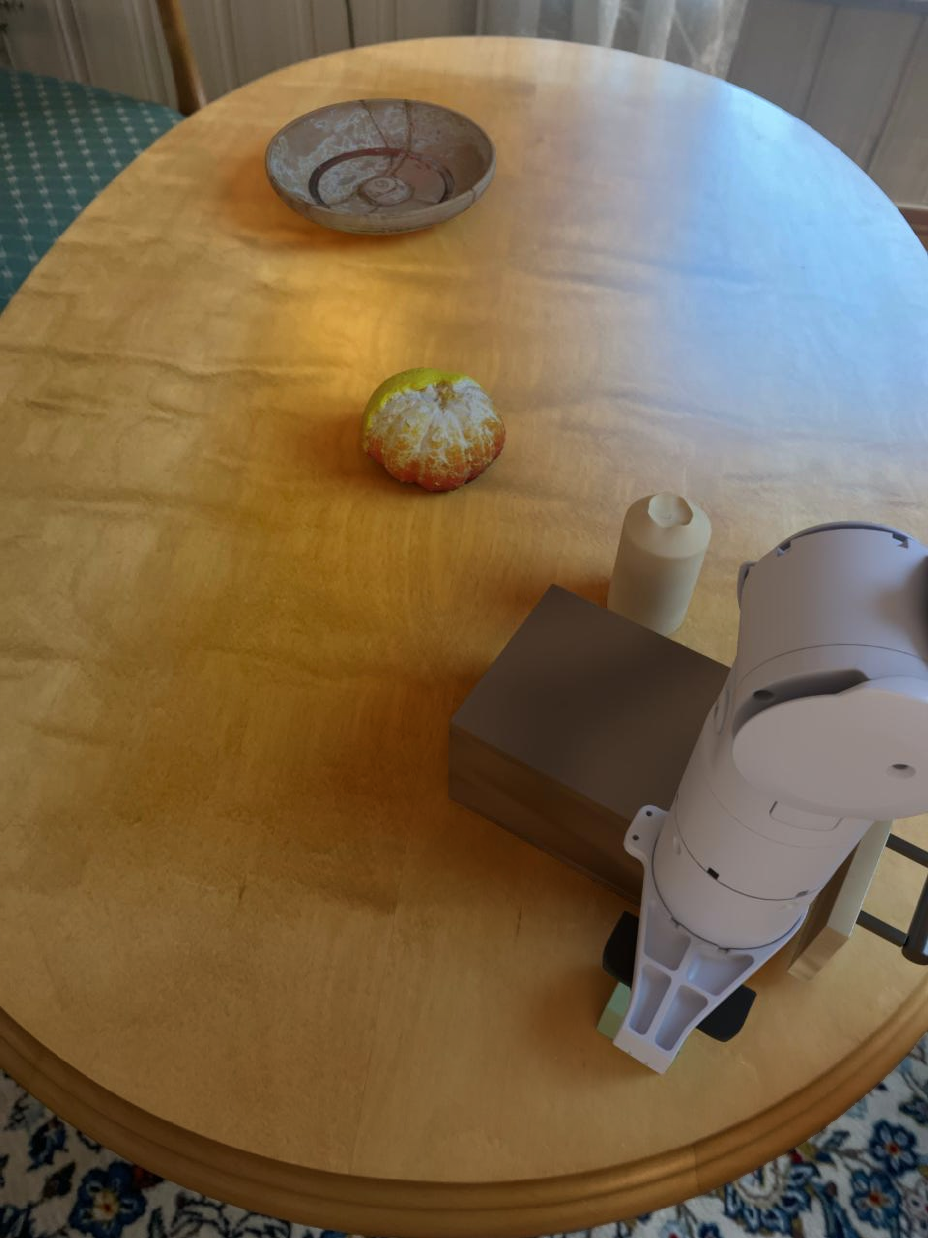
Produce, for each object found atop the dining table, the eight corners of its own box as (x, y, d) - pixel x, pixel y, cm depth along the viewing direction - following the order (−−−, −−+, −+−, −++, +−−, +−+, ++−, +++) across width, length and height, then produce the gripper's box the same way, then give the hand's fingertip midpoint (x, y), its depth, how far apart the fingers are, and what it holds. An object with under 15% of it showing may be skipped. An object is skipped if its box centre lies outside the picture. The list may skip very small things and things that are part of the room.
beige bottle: (699, 626, 67) (733, 527, 59) (628, 649, 66) (654, 551, 58) (660, 570, 70) (688, 468, 63) (592, 591, 69) (612, 490, 61)
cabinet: (730, 761, 61) (766, 684, 54) (650, 914, 55) (680, 848, 48) (541, 665, 65) (552, 582, 58) (447, 796, 59) (448, 721, 52)
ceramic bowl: (231, 179, 103) (223, 131, 99) (420, 124, 111) (419, 78, 108) (337, 286, 91) (333, 237, 88) (539, 216, 100) (543, 169, 96)
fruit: (359, 503, 73) (351, 403, 69) (370, 444, 82) (364, 351, 77) (507, 503, 73) (509, 402, 69) (502, 444, 82) (504, 351, 77)
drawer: (939, 868, 56) (992, 814, 50) (885, 1029, 50) (938, 987, 45) (673, 732, 61) (695, 670, 56) (597, 864, 55) (614, 809, 50)
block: (696, 1005, 52) (713, 981, 48) (665, 1073, 49) (680, 1053, 46) (629, 964, 53) (640, 938, 50) (595, 1029, 51) (605, 1006, 48)
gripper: (731, 627, 38) (667, 791, 49) (553, 935, 30) (524, 1050, 41) (909, 709, 36) (802, 862, 47) (765, 1064, 28) (676, 1150, 39)
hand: (681, 956), depth 44 cm, fingers open, 5 cm apart
